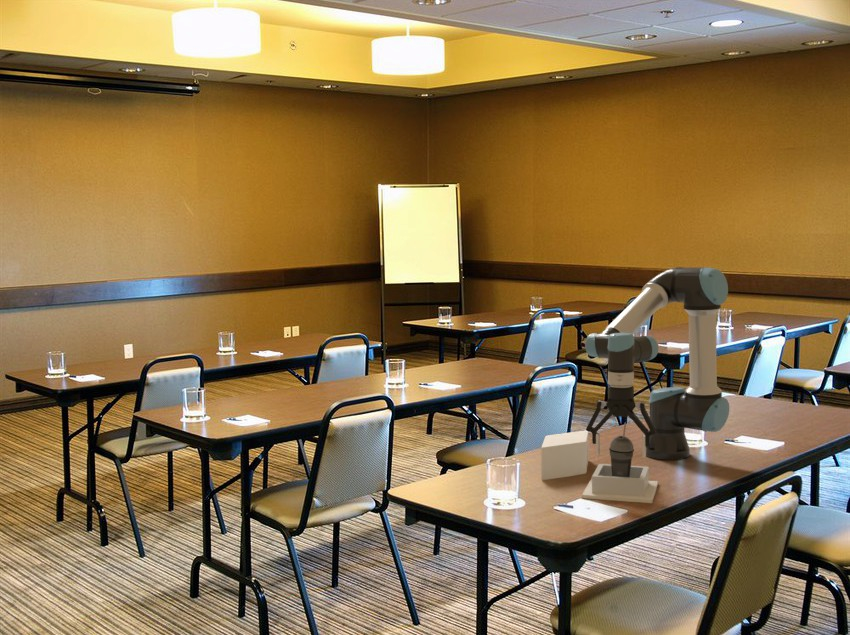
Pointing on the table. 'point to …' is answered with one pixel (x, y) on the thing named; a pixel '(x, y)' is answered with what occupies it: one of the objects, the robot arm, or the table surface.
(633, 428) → the table surface
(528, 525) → the table surface
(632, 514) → the table surface
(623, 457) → the beverage cup
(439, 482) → the table surface
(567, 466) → the block
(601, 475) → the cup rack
